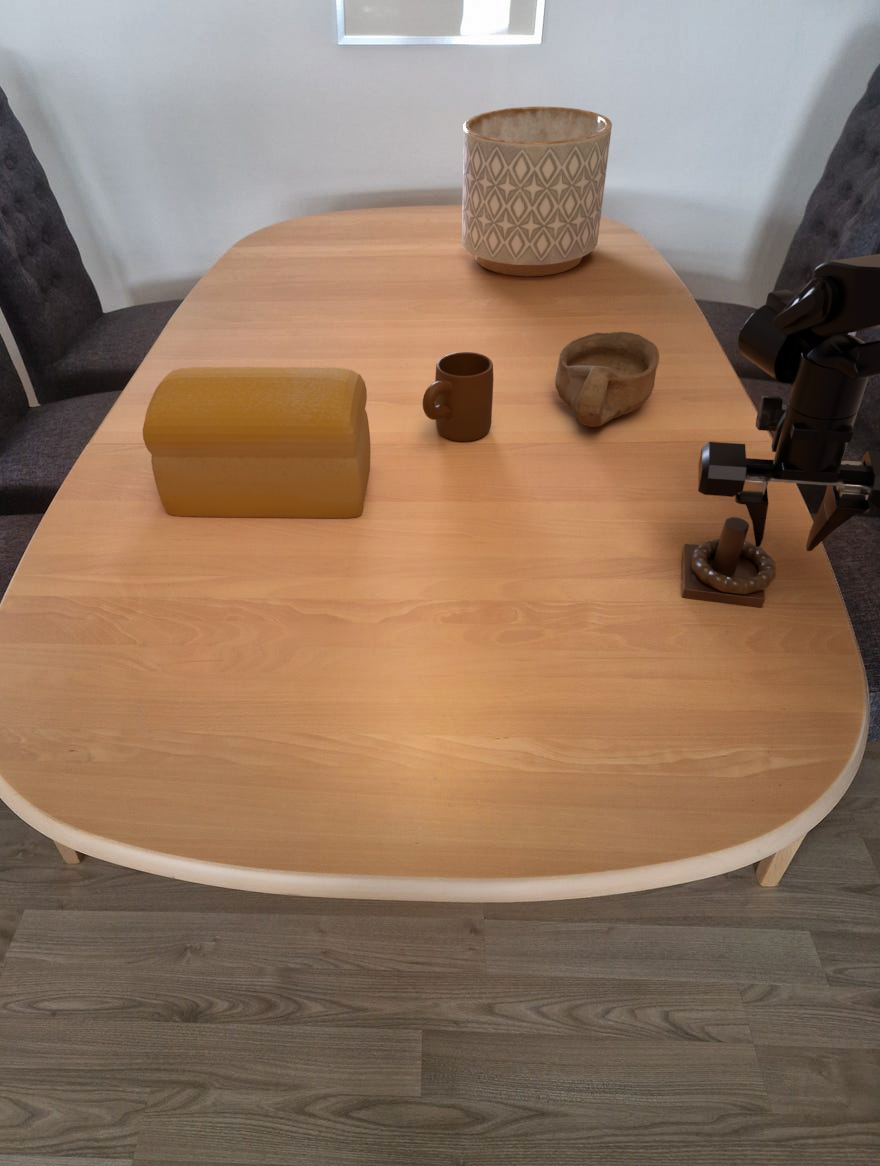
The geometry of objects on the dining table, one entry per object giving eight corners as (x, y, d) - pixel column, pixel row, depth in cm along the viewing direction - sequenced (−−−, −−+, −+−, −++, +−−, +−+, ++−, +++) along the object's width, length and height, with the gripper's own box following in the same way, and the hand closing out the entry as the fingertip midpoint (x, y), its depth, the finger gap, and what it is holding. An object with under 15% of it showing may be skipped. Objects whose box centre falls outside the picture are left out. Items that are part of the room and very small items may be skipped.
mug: (448, 464, 108) (449, 397, 101) (403, 445, 112) (401, 379, 105) (502, 426, 114) (505, 360, 108) (458, 409, 118) (458, 345, 112)
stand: (757, 560, 92) (775, 506, 87) (762, 608, 86) (781, 552, 81) (682, 551, 93) (695, 497, 88) (681, 597, 88) (696, 542, 83)
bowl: (671, 438, 108) (663, 367, 101) (563, 459, 112) (548, 393, 106) (660, 373, 120) (651, 306, 114) (562, 395, 125) (549, 332, 118)
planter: (493, 291, 149) (499, 150, 133) (442, 245, 166) (442, 116, 151) (620, 268, 154) (640, 131, 139) (557, 226, 172) (569, 100, 156)
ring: (770, 552, 91) (774, 540, 90) (775, 601, 85) (780, 589, 84) (690, 542, 92) (693, 531, 91) (690, 590, 87) (693, 579, 85)
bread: (372, 462, 109) (365, 352, 98) (362, 520, 100) (353, 405, 89) (189, 460, 111) (163, 352, 100) (162, 517, 101) (131, 404, 91)
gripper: (923, 369, 78) (871, 509, 88) (712, 361, 82) (687, 495, 93) (947, 428, 70) (888, 574, 81) (713, 415, 75) (686, 555, 85)
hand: (782, 546), depth 85 cm, fingers open, 5 cm apart
